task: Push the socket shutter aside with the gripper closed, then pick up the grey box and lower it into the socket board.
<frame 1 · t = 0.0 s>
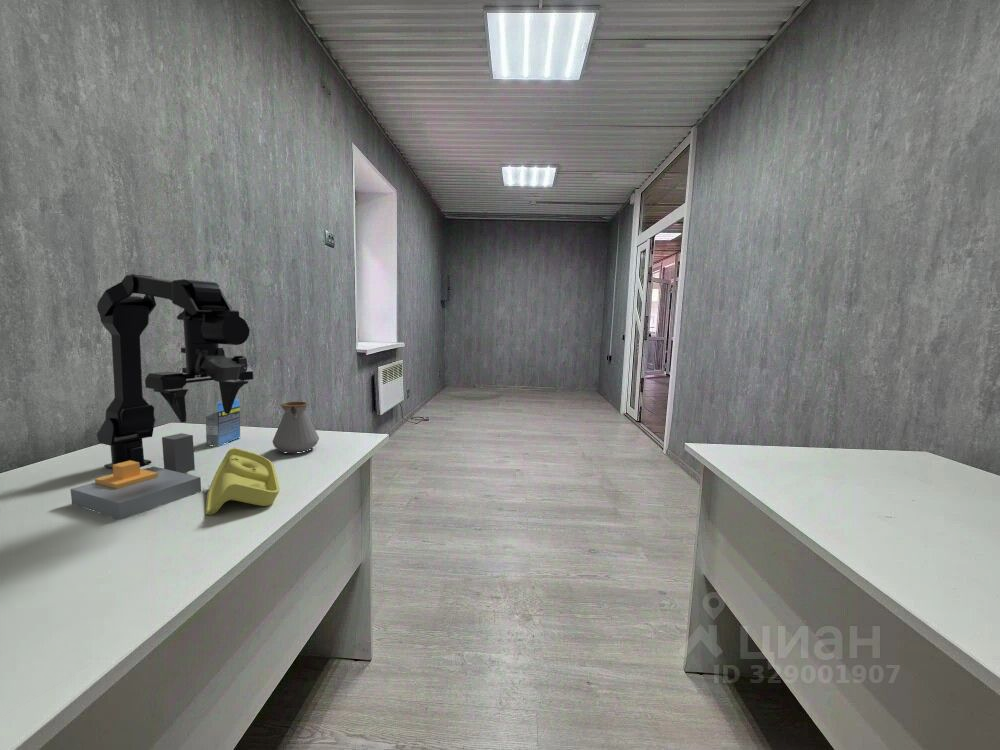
hand: (206, 417, 90), 15 cm above the table, tool pointing down, fingers open, 9 cm apart
socket shutter: (126, 471, 85), point 5 cm above the table, slide at 0.0 cm
grey box: (180, 475, 97), on the table
plastic component: (246, 495, 88), on the table
label tape box: (224, 442, 123), on the table
socket board: (139, 497, 84), on the table
coffee pot: (296, 455, 113), on the table
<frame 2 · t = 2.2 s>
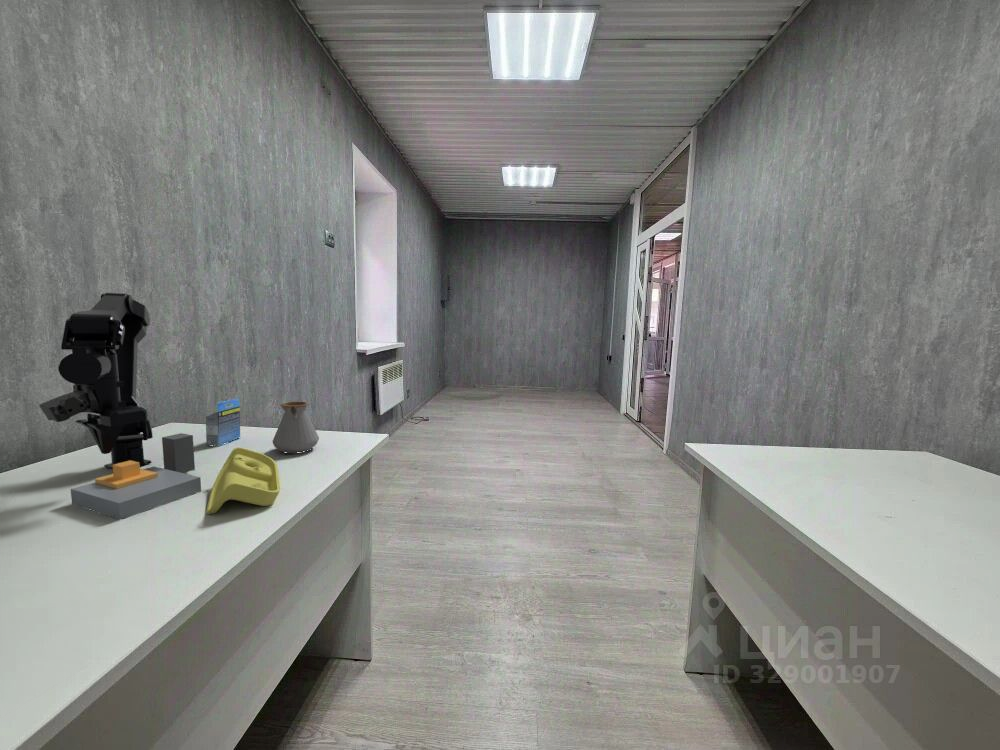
hand: (106, 453, 87), 7 cm above the table, tool pointing down, fingers closed
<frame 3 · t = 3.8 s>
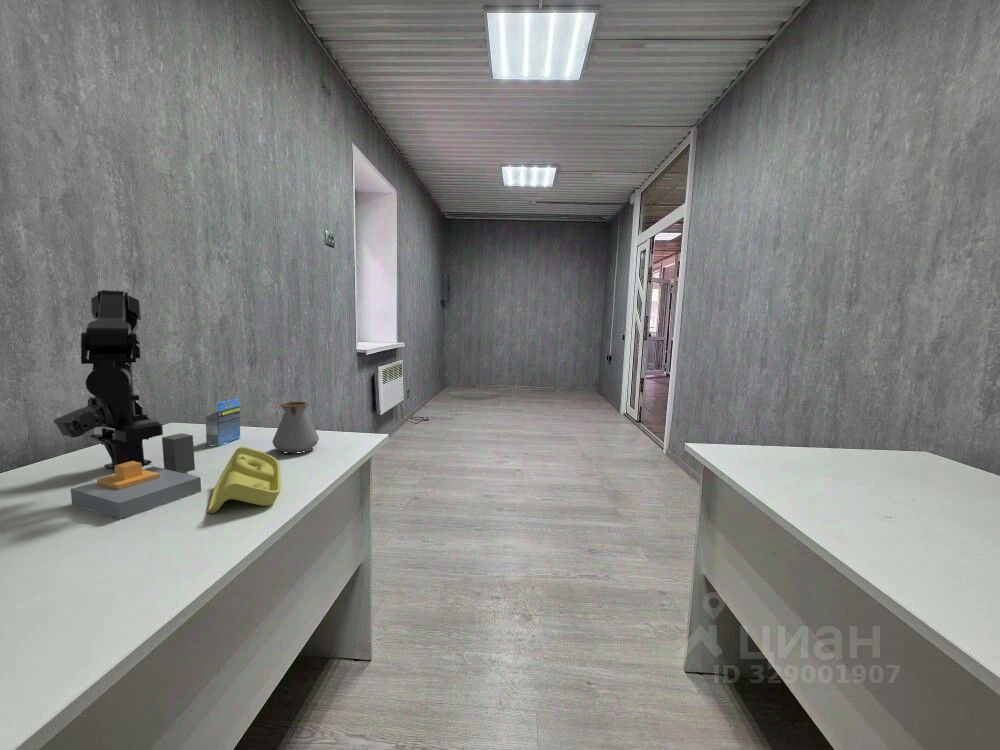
hand: (120, 468, 86), 5 cm above the table, tool pointing down, fingers closed
socket shutter: (128, 472, 85), point 5 cm above the table, slide at 0.7 cm, touching gripper
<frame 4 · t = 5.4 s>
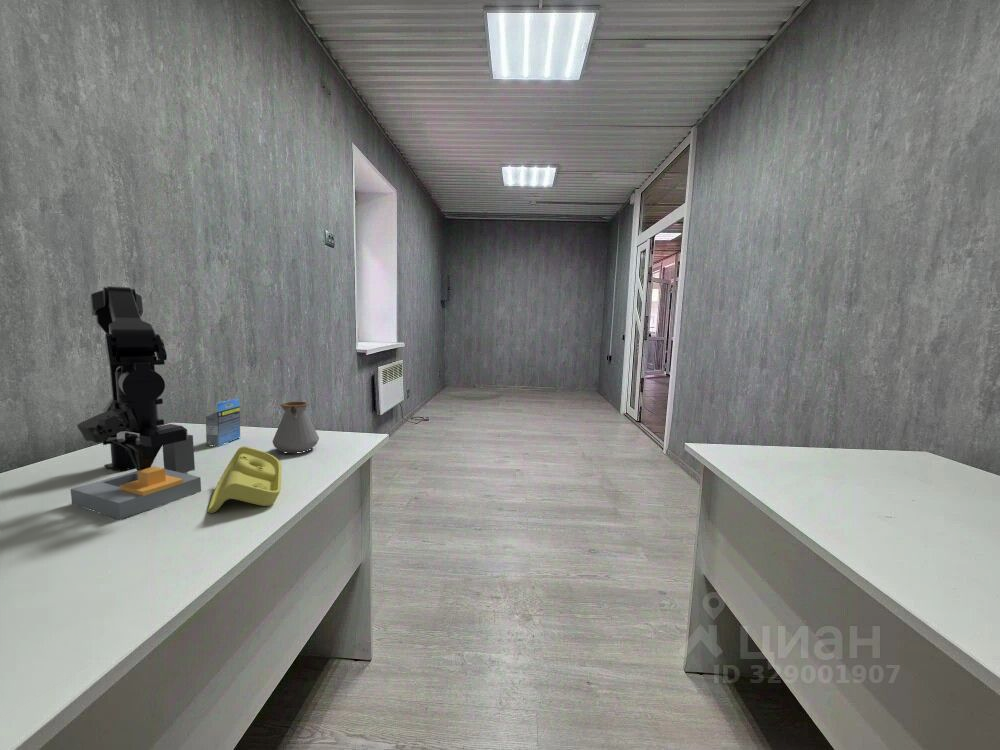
hand: (143, 474, 83), 5 cm above the table, tool pointing down, fingers closed
socket shutter: (151, 477, 82), point 5 cm above the table, slide at 7.9 cm, touching gripper
everything else where it was.
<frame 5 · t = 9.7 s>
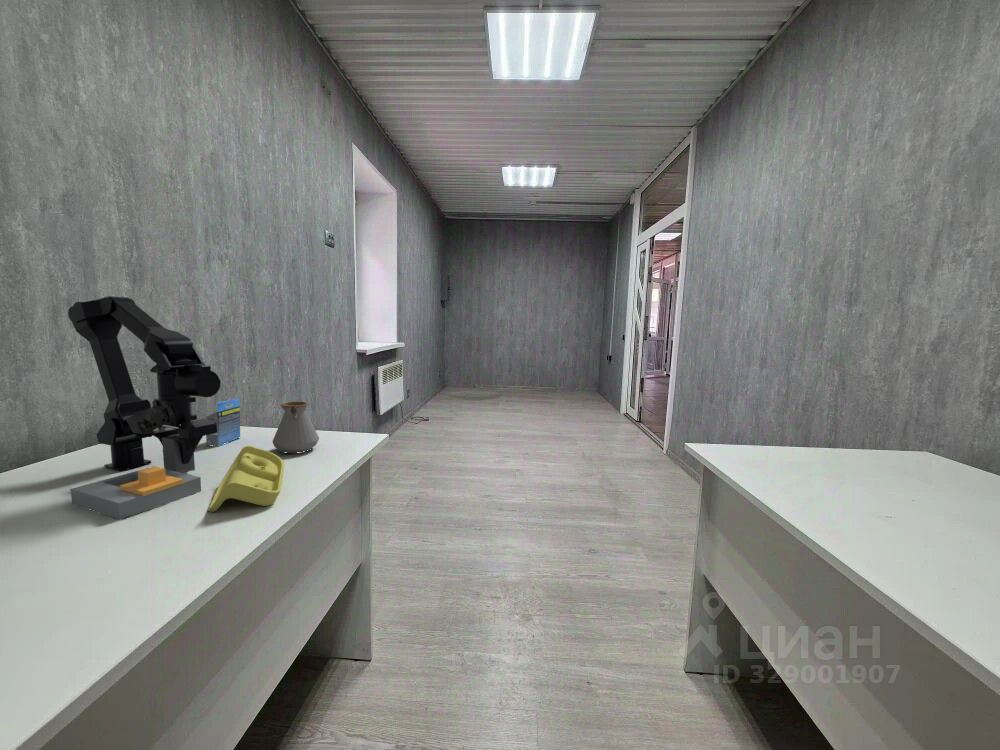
hand: (179, 462, 96), 3 cm above the table, tool pointing down, fingers closed on grey box, 4 cm apart
socket shutter: (152, 478, 82), point 5 cm above the table, slide at 7.9 cm
grey box: (180, 475, 97), on the table, touching gripper
when the fingers open (4 cm above the table, at t = 13.7 s): grey box stays where it is, resting in socket board.
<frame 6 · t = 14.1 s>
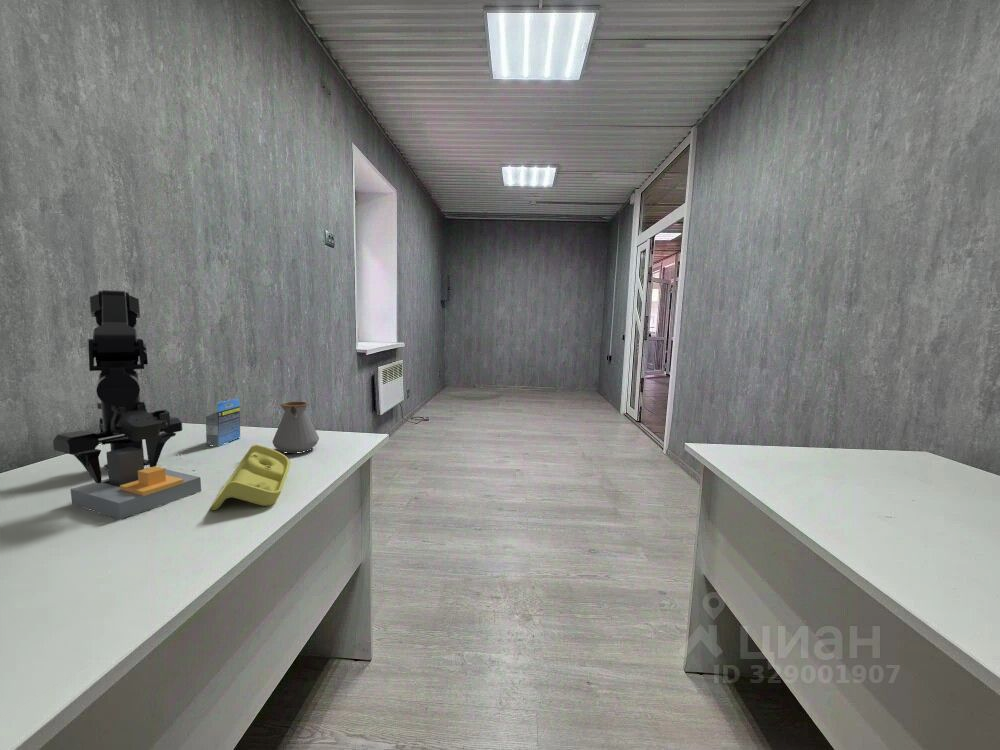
hand: (127, 475, 85), 4 cm above the table, tool pointing down, fingers open, 9 cm apart
grey box: (128, 494, 86), resting in socket board
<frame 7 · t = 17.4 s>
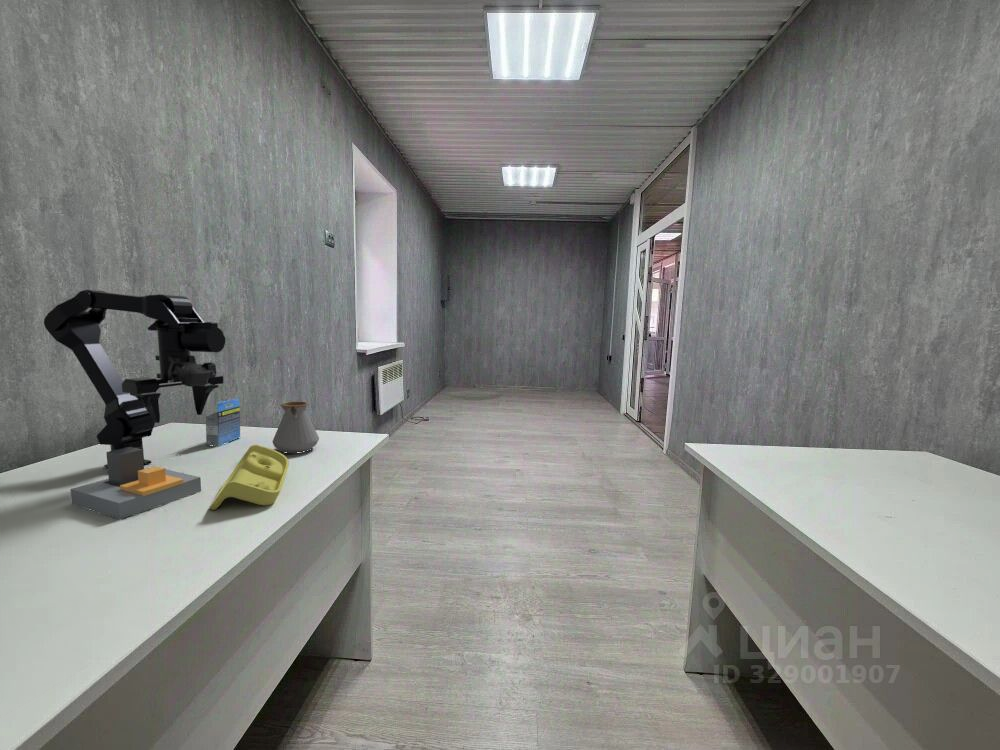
hand: (179, 418, 99), 12 cm above the table, tool pointing down, fingers open, 9 cm apart
at the end: grey box 0.0 cm from the target spot, resting in socket board; socket shutter slide at 7.9 cm; the gripper is holding nothing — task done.
